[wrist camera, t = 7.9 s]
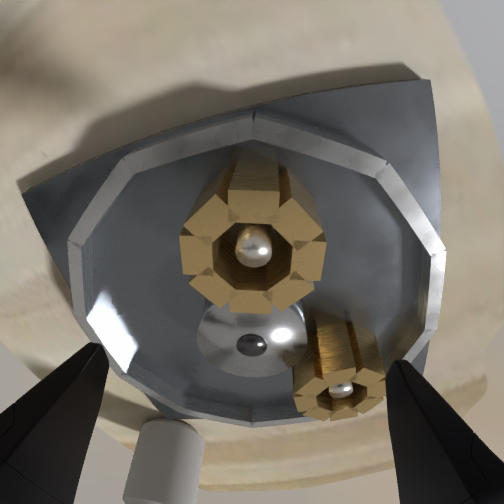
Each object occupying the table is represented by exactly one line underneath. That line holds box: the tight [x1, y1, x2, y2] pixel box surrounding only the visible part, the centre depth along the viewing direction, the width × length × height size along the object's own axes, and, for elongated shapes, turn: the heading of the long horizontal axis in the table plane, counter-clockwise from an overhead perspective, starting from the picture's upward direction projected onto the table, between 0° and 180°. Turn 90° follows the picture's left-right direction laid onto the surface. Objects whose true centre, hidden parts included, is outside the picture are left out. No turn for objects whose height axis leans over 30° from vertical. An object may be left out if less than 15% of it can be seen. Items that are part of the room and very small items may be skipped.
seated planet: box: [292, 322, 387, 421], centre depth 21 cm, size 6×6×4 cm
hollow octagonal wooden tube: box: [179, 162, 327, 314], centre depth 16 cm, size 6×6×4 cm
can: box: [123, 419, 205, 504], centre depth 28 cm, size 8×8×12 cm
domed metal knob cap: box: [197, 299, 307, 377], centre depth 20 cm, size 7×7×3 cm
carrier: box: [22, 79, 446, 428], centre depth 20 cm, size 25×25×4 cm
